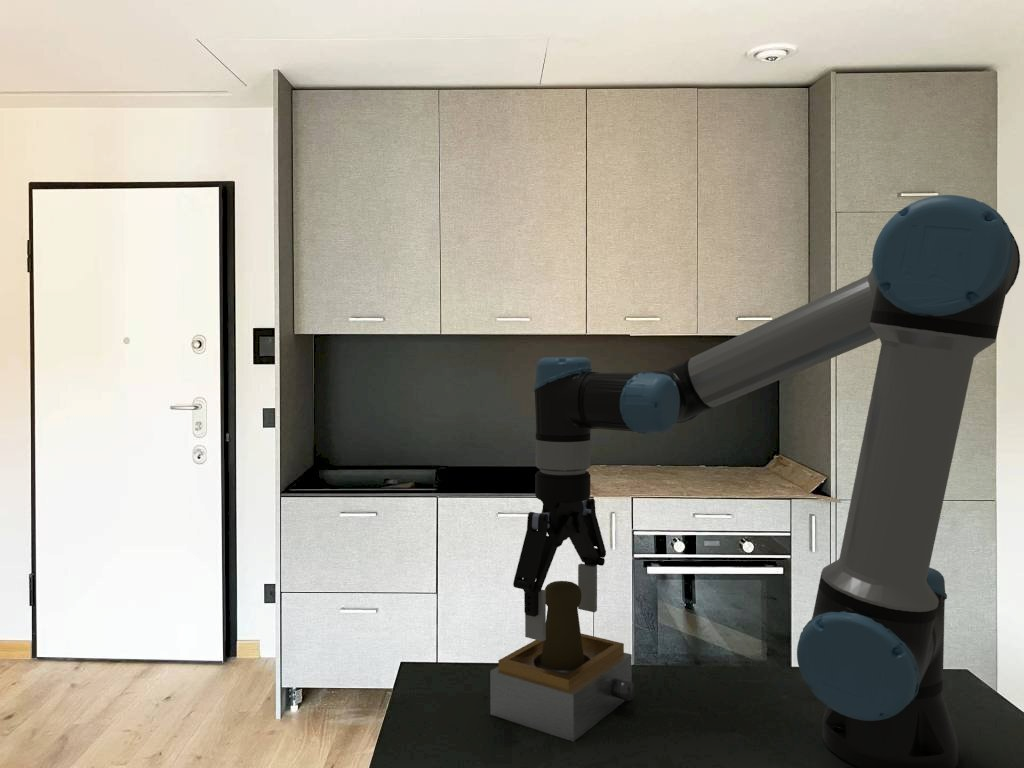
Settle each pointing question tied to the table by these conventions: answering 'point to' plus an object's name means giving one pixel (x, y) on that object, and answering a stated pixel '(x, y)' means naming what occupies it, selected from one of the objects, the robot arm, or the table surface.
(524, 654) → the grey box with hole
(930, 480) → the robot arm
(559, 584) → the cork
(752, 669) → the table surface
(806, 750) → the table surface
